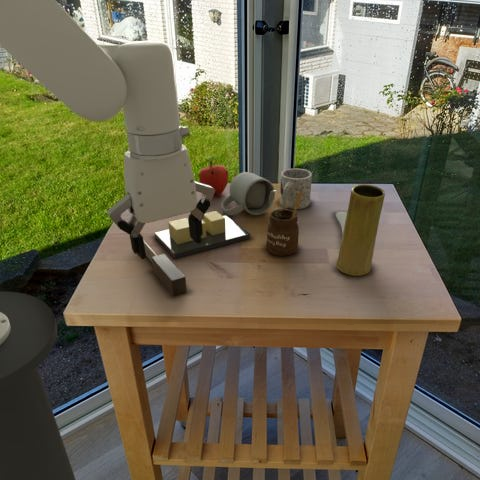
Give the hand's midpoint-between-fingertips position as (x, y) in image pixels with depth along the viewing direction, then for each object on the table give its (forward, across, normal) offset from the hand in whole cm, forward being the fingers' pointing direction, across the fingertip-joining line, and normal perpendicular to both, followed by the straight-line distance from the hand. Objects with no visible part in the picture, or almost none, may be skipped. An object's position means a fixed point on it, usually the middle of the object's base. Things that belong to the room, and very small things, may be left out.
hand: (169, 247), depth 81 cm
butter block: (+6, -8, -12) cm, 16 cm away
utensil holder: (+7, -22, 0) cm, 23 cm away
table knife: (+6, +1, -5) cm, 8 cm away
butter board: (+7, -11, -12) cm, 18 cm away
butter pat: (+6, -14, -12) cm, 19 cm away
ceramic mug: (+7, -25, -19) cm, 32 cm away
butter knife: (+7, -36, +2) cm, 37 cm away
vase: (+7, -29, +12) cm, 33 cm away
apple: (+7, -23, -30) cm, 39 cm away
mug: (+7, -35, -16) cm, 39 cm away
